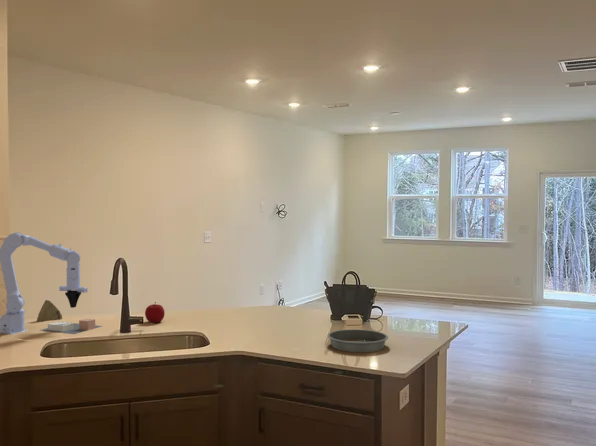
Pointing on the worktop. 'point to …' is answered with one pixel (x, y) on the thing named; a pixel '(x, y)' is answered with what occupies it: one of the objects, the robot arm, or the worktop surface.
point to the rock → (49, 312)
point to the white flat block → (60, 326)
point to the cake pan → (371, 343)
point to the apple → (154, 313)
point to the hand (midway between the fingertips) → (73, 307)
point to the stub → (87, 324)
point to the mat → (72, 331)
